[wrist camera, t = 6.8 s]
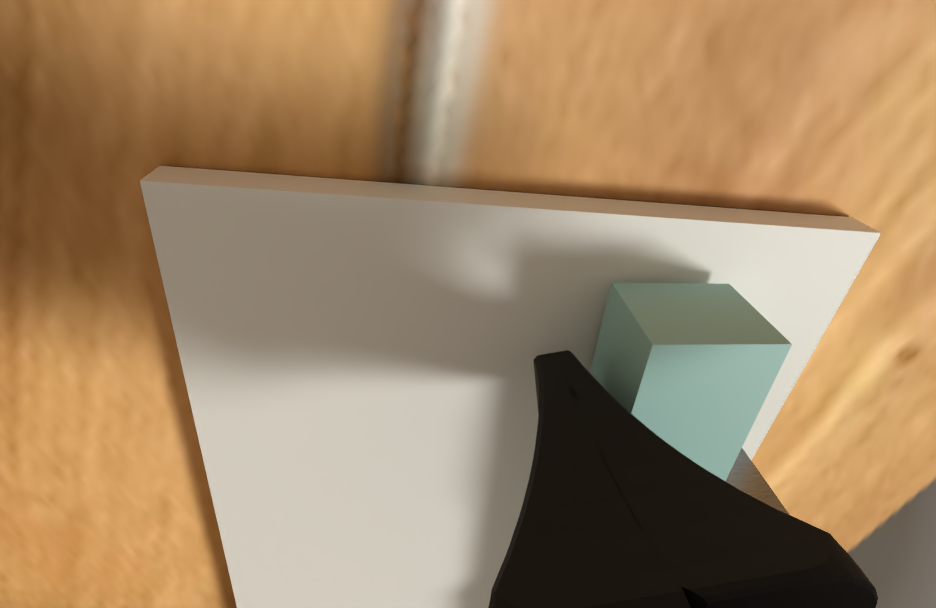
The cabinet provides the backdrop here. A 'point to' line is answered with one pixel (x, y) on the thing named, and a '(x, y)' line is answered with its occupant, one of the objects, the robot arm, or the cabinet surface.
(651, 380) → the latch bar
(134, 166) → the cabinet surface
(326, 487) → the board
